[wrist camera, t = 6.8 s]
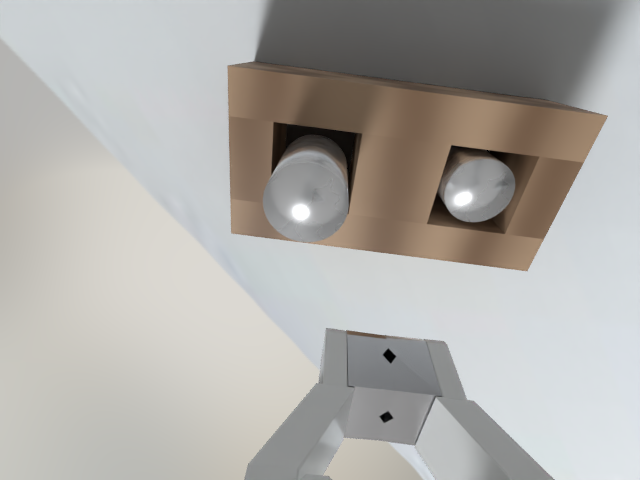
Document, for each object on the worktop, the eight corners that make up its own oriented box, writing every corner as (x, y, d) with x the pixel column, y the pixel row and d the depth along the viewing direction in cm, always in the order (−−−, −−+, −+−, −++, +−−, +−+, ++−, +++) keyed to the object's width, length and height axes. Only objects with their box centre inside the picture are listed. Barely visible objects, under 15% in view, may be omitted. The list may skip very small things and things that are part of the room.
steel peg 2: (419, 186, 26) (436, 217, 21) (434, 133, 24) (457, 155, 19) (470, 193, 26) (500, 225, 21) (489, 140, 24) (526, 164, 19)
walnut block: (252, 198, 28) (231, 233, 22) (253, 61, 23) (227, 65, 17) (492, 229, 28) (527, 271, 23) (547, 100, 23) (607, 115, 18)
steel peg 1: (279, 194, 21) (261, 236, 17) (283, 130, 19) (264, 157, 15) (341, 202, 21) (342, 247, 17) (352, 139, 19) (355, 169, 15)
